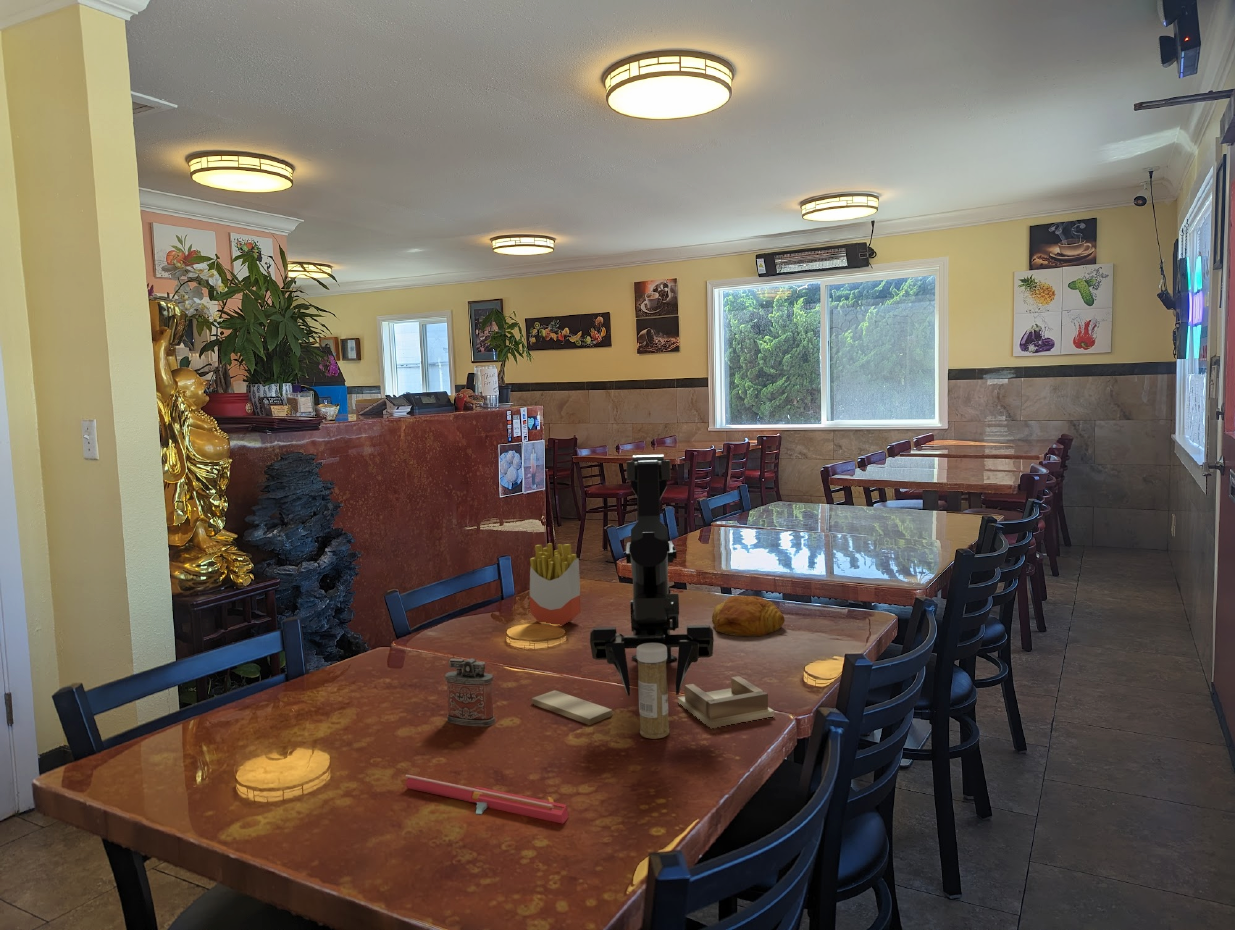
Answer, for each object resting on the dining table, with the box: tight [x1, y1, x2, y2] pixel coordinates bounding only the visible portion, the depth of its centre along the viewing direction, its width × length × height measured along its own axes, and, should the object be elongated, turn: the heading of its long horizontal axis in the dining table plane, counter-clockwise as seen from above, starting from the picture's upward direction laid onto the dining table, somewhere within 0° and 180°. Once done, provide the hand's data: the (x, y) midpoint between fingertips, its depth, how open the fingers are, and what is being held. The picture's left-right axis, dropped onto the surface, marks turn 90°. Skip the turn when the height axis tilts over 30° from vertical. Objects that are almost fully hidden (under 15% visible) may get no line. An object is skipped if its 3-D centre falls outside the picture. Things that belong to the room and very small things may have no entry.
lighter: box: [444, 657, 496, 727], centre depth 132 cm, size 8×3×10 cm, turn 71°
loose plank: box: [531, 689, 613, 726], centre depth 136 cm, size 14×5×2 cm, turn 45°
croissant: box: [711, 594, 786, 637], centre depth 180 cm, size 14×16×8 cm
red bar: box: [405, 774, 570, 824], centre depth 105 cm, size 24×2×5 cm
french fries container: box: [529, 542, 582, 626], centre depth 189 cm, size 5×11×18 cm, turn 64°
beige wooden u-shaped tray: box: [677, 675, 775, 730], centre depth 134 cm, size 12×11×4 cm
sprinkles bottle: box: [635, 643, 670, 740], centre depth 125 cm, size 5×5×13 cm
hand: (653, 694), depth 123 cm, fingers open, 7 cm apart
